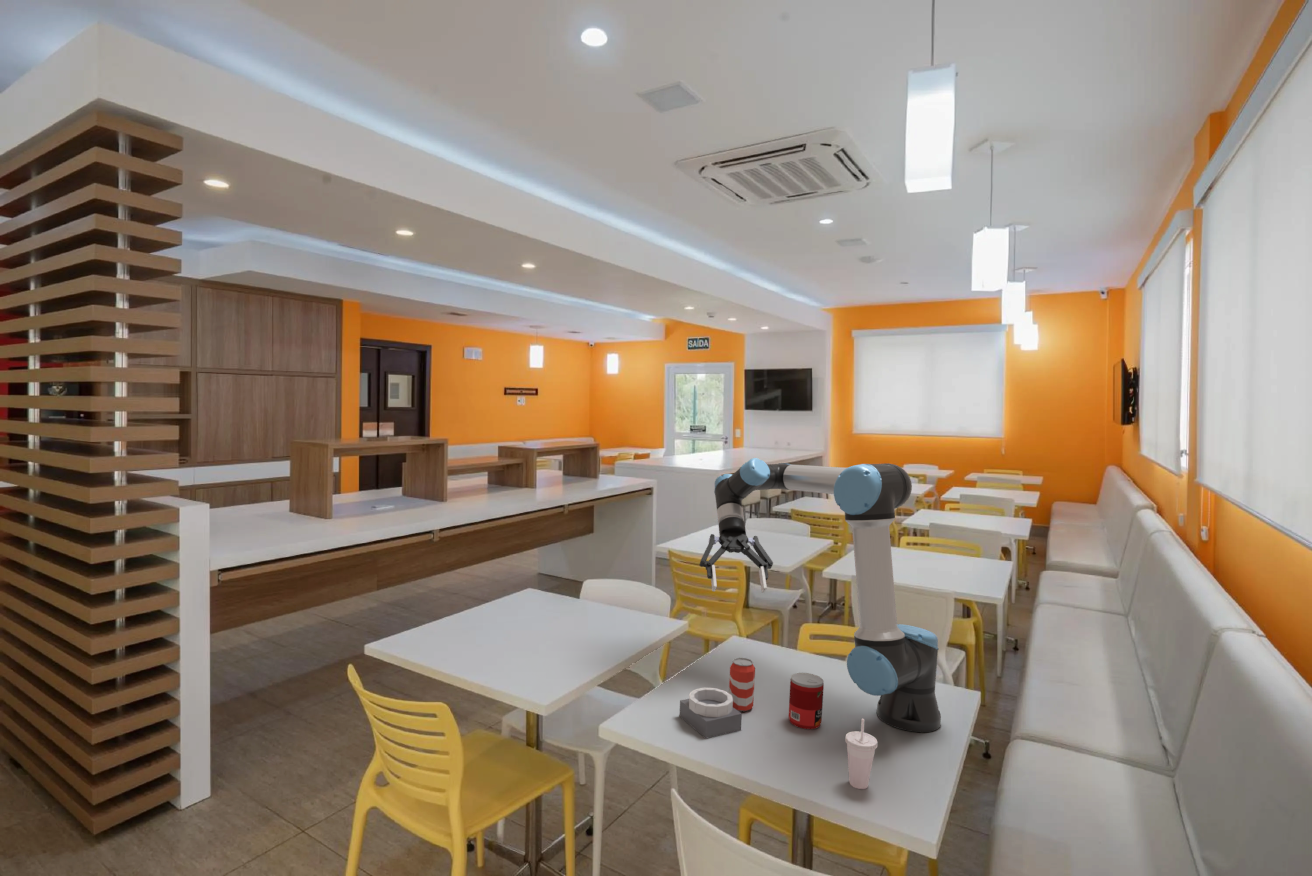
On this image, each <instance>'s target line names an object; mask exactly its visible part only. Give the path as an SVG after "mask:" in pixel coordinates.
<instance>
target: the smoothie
mask: <svg viewBox="0 0 1312 876" xmlns="http://www.w3.org/2000/svg"><path fill="white" fill-rule="evenodd" d="M864 730H865V718H861V723H860V731H857V730H855V731H849V732H847V733H846V734H845V738H844V742H845V743H846V751H847V766H848V767H847V768H848V779H849V780H848V781H849V785H850V786H851V787H853V788H855V789H857V790H858V789H859V790H866V789H868V787H869V782H870V777H871V772H872V768H873V763H874V757H875V753H876V749H877V748H878V740H877V738H876V737H875V736H873V735H871V734H869V733H867V732H865V731H864Z"/></svg>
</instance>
